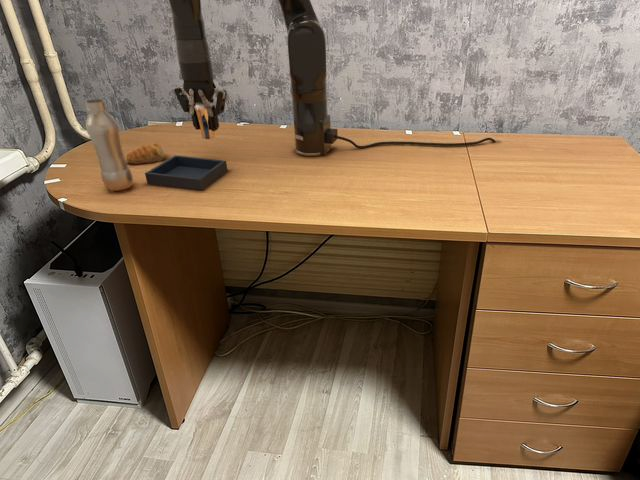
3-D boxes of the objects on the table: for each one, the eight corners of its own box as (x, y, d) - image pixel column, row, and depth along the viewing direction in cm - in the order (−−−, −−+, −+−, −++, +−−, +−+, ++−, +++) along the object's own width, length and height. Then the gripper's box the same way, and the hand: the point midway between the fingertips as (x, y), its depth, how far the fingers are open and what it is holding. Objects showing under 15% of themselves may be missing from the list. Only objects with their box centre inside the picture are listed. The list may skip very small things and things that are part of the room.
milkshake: (202, 142, 124) (195, 102, 118) (197, 135, 128) (191, 97, 122) (220, 139, 126) (214, 100, 120) (215, 133, 129) (209, 95, 124)
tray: (227, 171, 122) (226, 160, 121) (201, 190, 112) (199, 179, 111) (177, 165, 126) (175, 155, 124) (147, 184, 115) (144, 173, 114)
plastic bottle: (117, 196, 110) (90, 106, 99) (99, 189, 113) (70, 102, 102) (141, 186, 114) (118, 99, 103) (123, 180, 117) (98, 95, 106)
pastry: (132, 167, 124) (128, 153, 122) (124, 160, 129) (120, 146, 127) (167, 159, 129) (164, 145, 127) (159, 152, 134) (155, 139, 131)
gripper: (229, 57, 117) (238, 127, 127) (177, 54, 120) (190, 123, 130) (213, 63, 111) (224, 136, 121) (159, 59, 114) (174, 131, 124)
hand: (206, 129), depth 125 cm, fingers closed on milkshake, 4 cm apart
